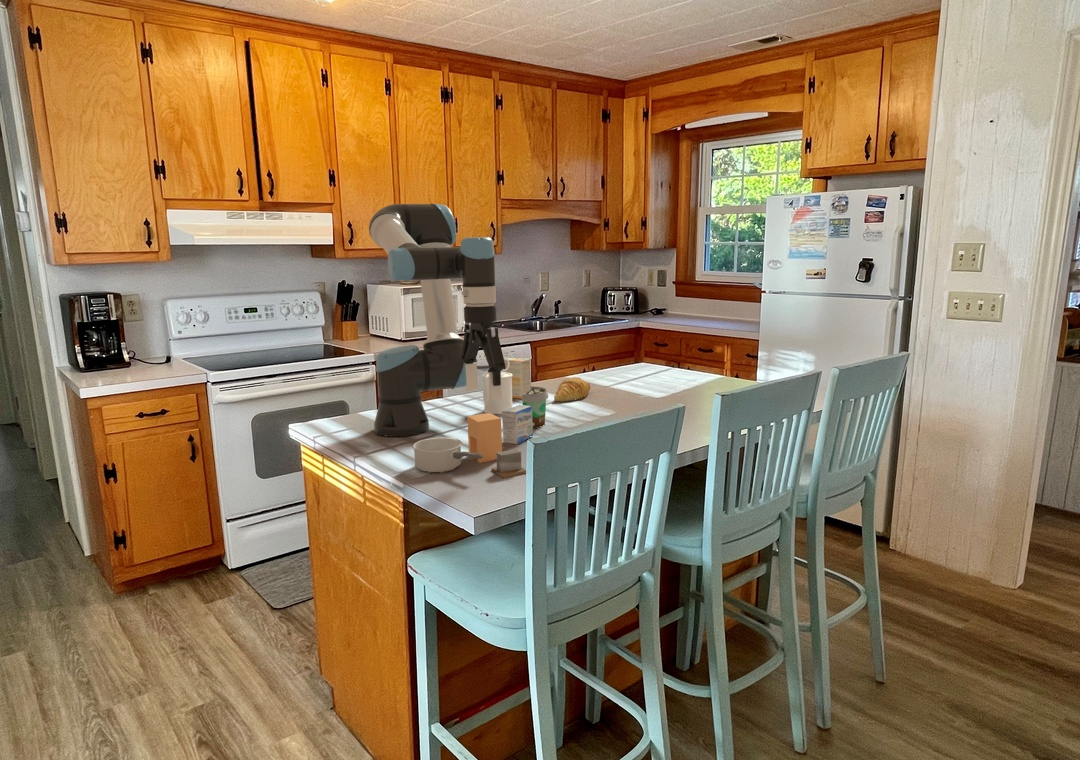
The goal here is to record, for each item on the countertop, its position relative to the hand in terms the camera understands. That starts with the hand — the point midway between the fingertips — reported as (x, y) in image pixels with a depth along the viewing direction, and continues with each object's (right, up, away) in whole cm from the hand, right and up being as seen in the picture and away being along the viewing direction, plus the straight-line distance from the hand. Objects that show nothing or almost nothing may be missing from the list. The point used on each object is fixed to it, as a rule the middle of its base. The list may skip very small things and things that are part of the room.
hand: (483, 394), depth 163 cm
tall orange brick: (0, -15, +3) cm, 16 cm away
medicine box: (+8, -13, +17) cm, 23 cm away
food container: (+13, -10, +32) cm, 36 cm away
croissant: (+24, -3, +67) cm, 72 cm away
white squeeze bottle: (0, -7, +49) cm, 50 cm away
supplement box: (+6, -2, +69) cm, 69 cm away
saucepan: (-7, -18, -6) cm, 20 cm away
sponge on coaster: (+7, -17, -8) cm, 20 cm away
